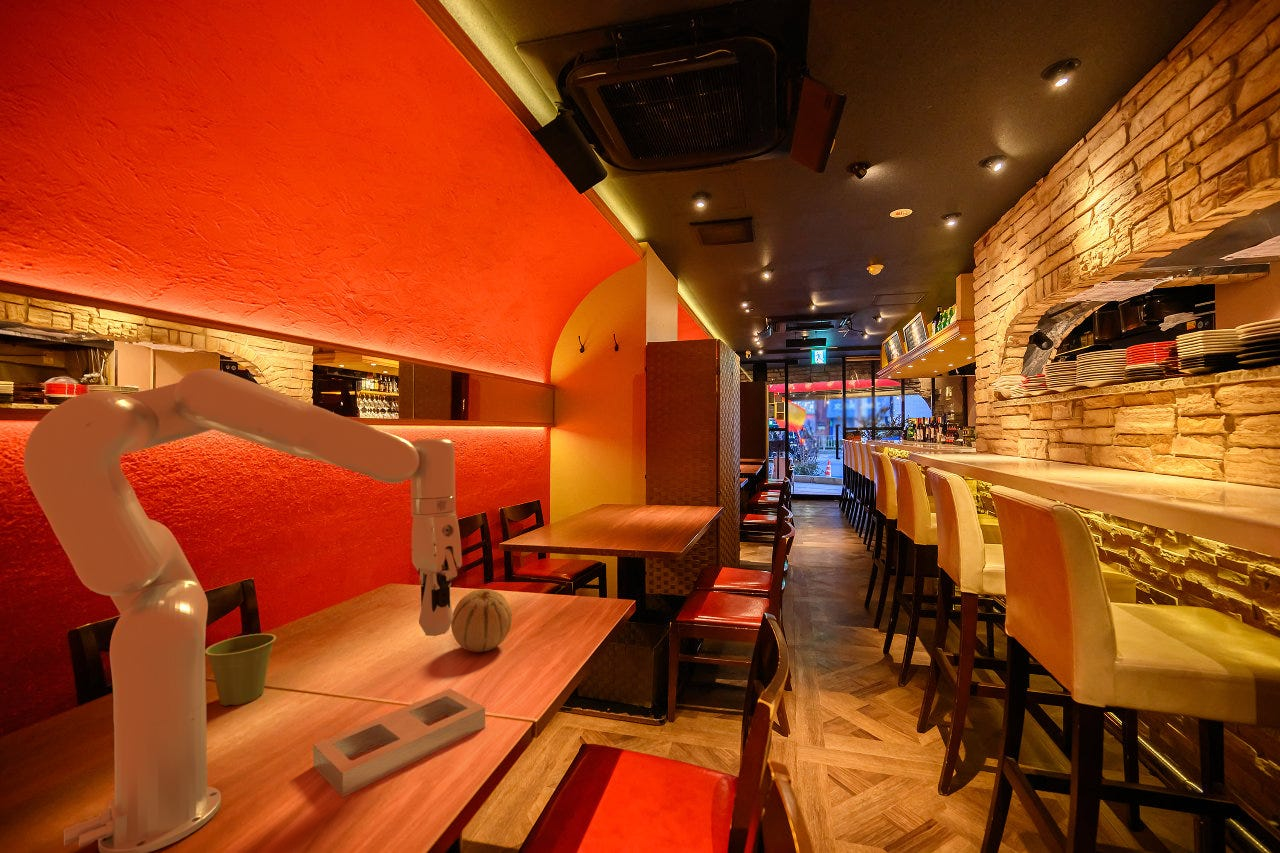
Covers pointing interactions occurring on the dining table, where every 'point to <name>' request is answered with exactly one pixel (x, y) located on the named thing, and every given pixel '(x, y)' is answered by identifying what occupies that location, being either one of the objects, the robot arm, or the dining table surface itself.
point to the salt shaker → (440, 617)
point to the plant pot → (240, 667)
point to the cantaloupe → (481, 620)
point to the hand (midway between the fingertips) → (435, 607)
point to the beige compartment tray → (396, 740)
